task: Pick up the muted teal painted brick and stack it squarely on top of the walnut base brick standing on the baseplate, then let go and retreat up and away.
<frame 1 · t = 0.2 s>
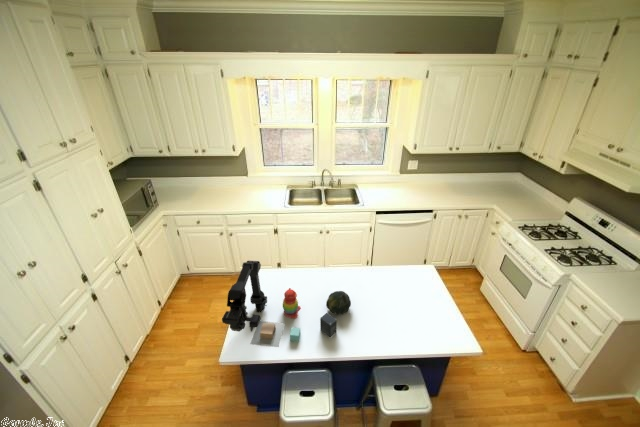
hand: (243, 330, 154), 15 cm above the kitchen island, tool pointing down, fingers open, 9 cm apart
squash: (338, 309, 186), on the kitchen island
baseplate: (268, 334, 169), on the kitchen island
box: (328, 331, 171), on the kitchen island
stacking bear: (291, 312, 183), on the kitchen island
teal brick: (295, 338, 167), on the kitchen island
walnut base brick: (268, 333, 169), point 1 cm above the kitchen island, touching baseplate
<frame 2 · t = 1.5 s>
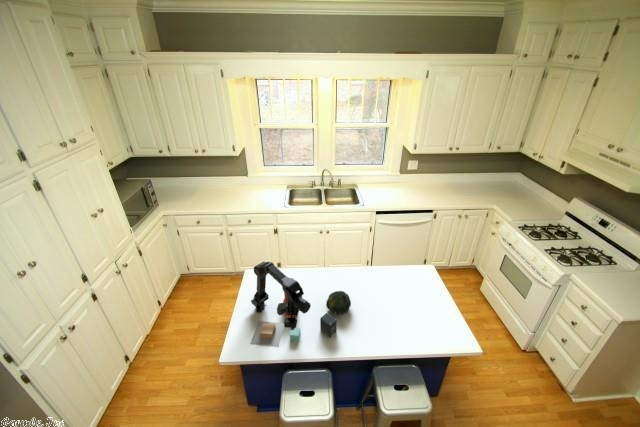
hand: (294, 322, 160), 13 cm above the kitchen island, tool pointing down, fingers open, 9 cm apart
nothing on the kitchen island moved.
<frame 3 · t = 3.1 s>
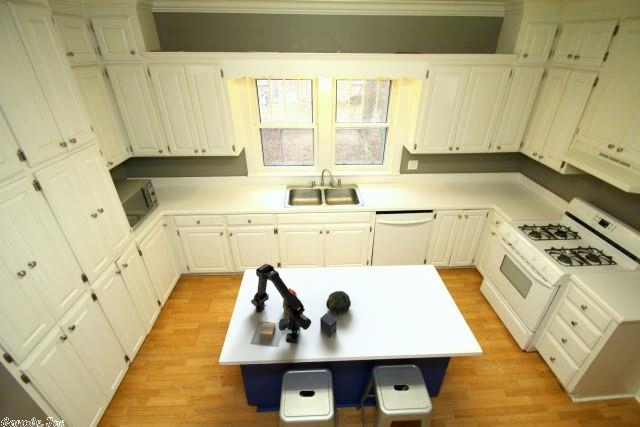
hand: (295, 337, 166), 1 cm above the kitchen island, tool pointing down, fingers closed on teal brick, 5 cm apart
teal brick: (295, 338, 167), on the kitchen island, touching gripper
everything else where it was.
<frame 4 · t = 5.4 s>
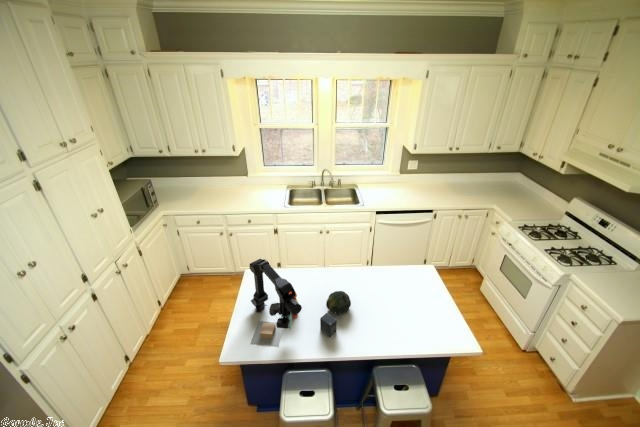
hand: (286, 323, 162), 11 cm above the kitchen island, tool pointing down, fingers closed on teal brick, 5 cm apart
teal brick: (286, 324, 162), point 10 cm above the kitchen island, touching gripper
everything else where it was.
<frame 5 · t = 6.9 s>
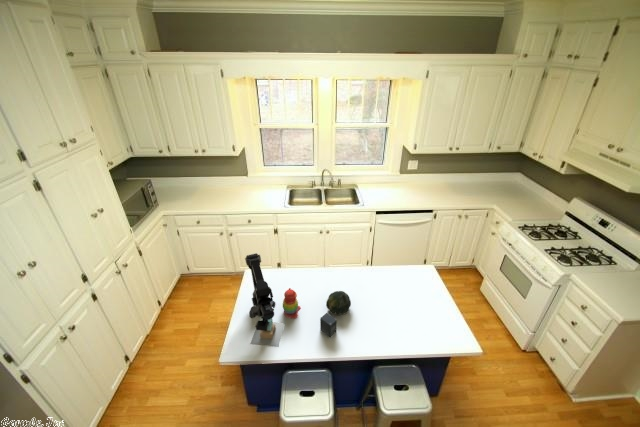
hand: (267, 325, 165), 7 cm above the kitchen island, tool pointing down, fingers closed on teal brick, 5 cm apart
teal brick: (267, 326, 166), point 6 cm above the kitchen island, touching gripper
everything else where it was.
when the fingers open (7 cm above the kitchen island, at t = 7.8 s): teal brick stays where it is, resting on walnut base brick.
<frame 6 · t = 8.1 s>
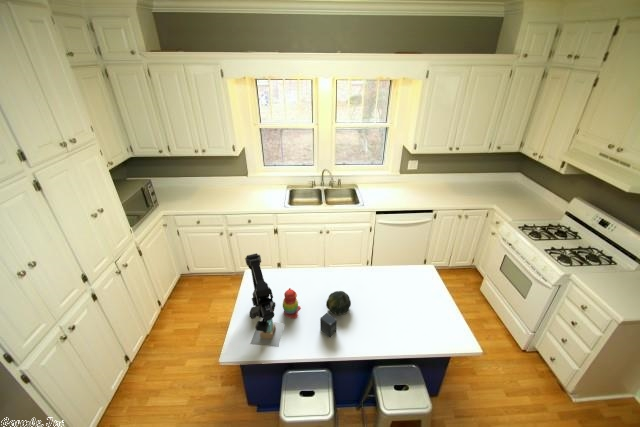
hand: (267, 325, 166), 7 cm above the kitchen island, tool pointing down, fingers open, 9 cm apart
teal brick: (267, 328, 167), point 5 cm above the kitchen island, touching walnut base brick
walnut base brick: (268, 333, 169), point 1 cm above the kitchen island, touching baseplate, teal brick
everything else where it was.
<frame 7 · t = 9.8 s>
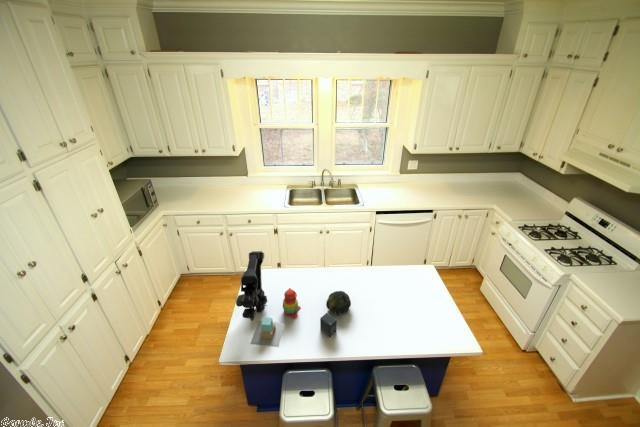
hand: (254, 313, 166), 13 cm above the kitchen island, tool pointing down, fingers open, 9 cm apart
nothing on the kitchen island moved.
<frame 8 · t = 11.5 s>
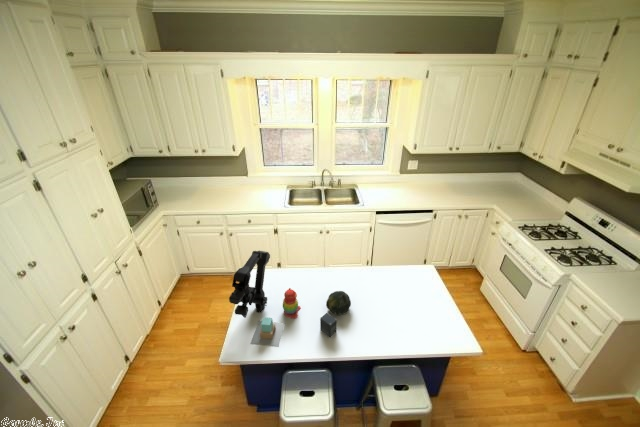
hand: (247, 311, 167), 13 cm above the kitchen island, tool pointing down, fingers open, 9 cm apart
nothing on the kitchen island moved.
at the end: teal brick 0.0 cm off-centre on the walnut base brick, point 4.0 cm above the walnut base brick's base; teal brick tilted 0°; the gripper is holding nothing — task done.
